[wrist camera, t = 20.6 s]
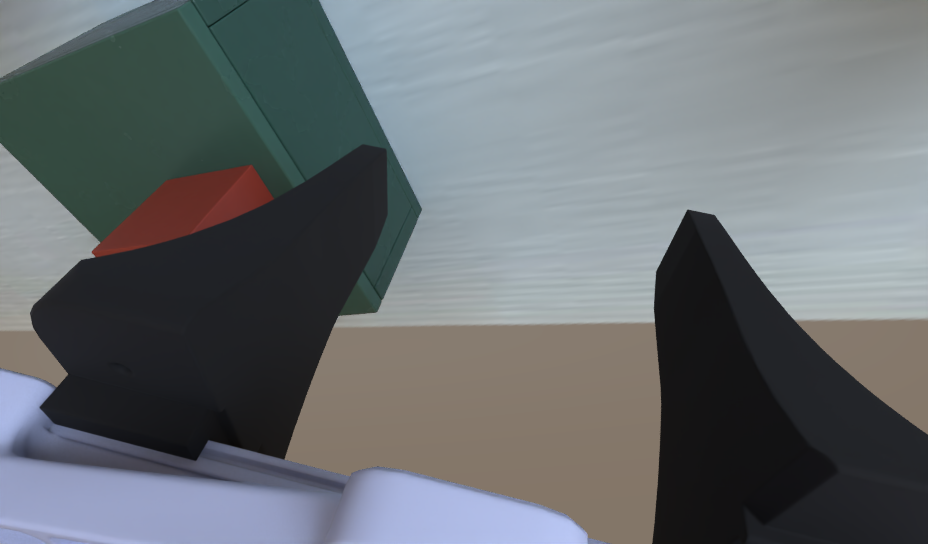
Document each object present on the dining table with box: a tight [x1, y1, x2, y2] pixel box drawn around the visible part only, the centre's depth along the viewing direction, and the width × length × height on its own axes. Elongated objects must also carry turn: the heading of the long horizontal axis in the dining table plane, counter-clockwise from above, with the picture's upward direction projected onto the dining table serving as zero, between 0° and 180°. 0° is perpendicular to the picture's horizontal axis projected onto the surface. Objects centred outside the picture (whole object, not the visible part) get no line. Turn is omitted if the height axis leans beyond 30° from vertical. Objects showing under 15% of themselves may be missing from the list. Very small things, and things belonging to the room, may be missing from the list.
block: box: [92, 165, 274, 257], centre depth 19 cm, size 4×4×4 cm
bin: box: [0, 0, 422, 300], centre depth 23 cm, size 11×13×6 cm
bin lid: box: [0, 1, 381, 316], centre depth 21 cm, size 11×13×1 cm
